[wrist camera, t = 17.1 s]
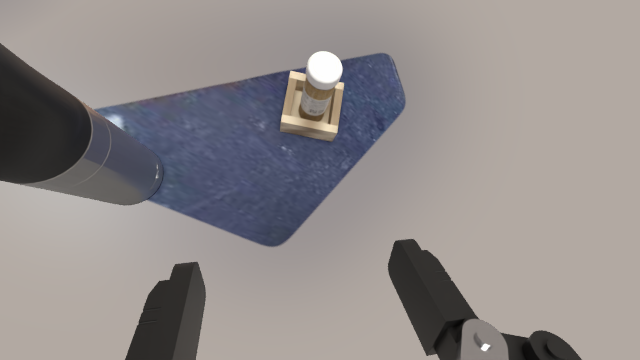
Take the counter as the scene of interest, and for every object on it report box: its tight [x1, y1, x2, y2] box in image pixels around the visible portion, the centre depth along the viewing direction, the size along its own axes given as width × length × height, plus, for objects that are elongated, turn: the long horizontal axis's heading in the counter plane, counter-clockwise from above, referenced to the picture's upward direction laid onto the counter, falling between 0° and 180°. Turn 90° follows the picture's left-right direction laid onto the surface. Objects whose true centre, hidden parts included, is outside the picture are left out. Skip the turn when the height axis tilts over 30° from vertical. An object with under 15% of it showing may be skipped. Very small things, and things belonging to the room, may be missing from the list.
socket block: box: [280, 71, 344, 142], centre depth 46 cm, size 9×9×4 cm
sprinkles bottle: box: [298, 51, 342, 122], centre depth 41 cm, size 5×5×14 cm
